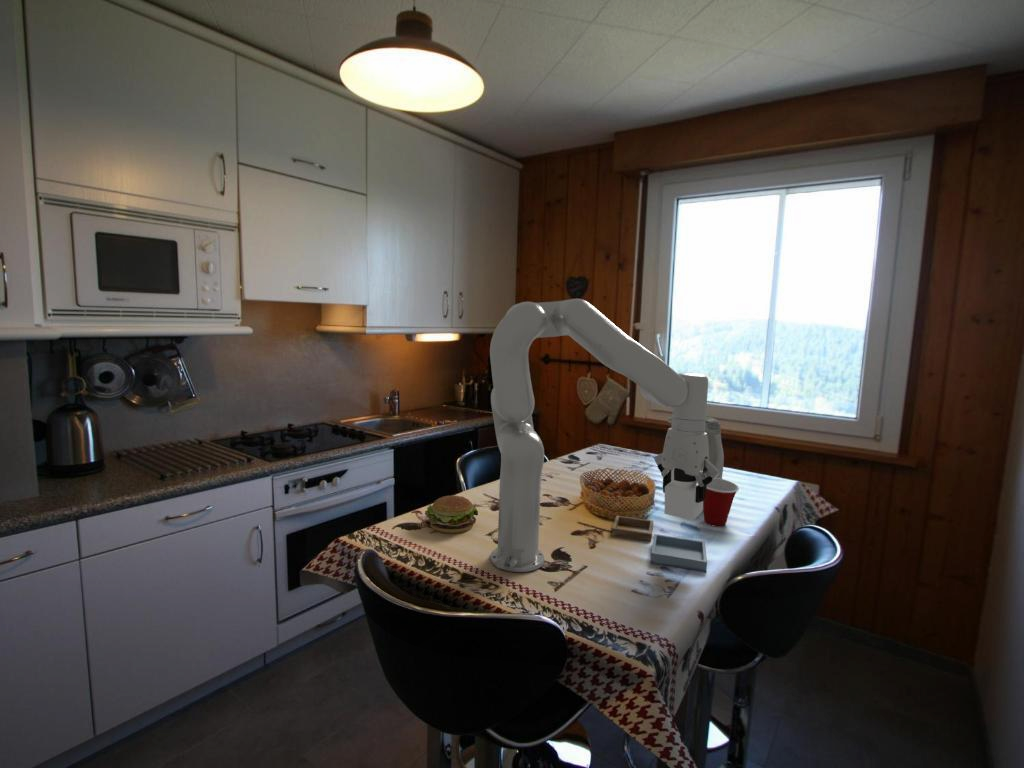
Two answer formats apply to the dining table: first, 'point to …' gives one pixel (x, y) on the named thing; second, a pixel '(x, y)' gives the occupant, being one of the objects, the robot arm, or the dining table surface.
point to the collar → (632, 533)
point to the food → (451, 514)
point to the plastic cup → (718, 501)
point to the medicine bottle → (682, 496)
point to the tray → (679, 553)
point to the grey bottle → (714, 445)
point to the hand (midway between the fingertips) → (683, 496)
